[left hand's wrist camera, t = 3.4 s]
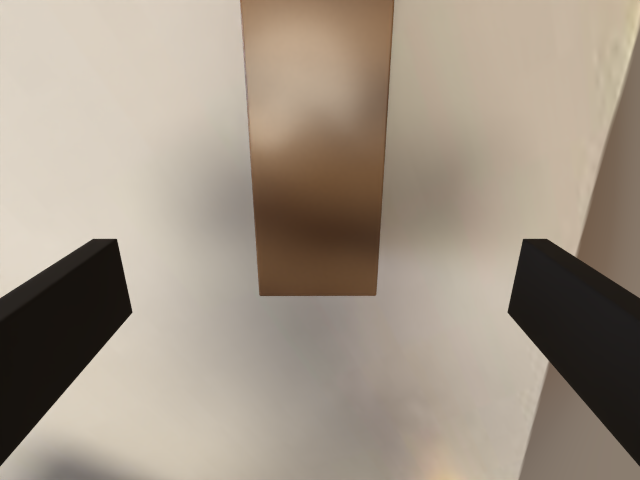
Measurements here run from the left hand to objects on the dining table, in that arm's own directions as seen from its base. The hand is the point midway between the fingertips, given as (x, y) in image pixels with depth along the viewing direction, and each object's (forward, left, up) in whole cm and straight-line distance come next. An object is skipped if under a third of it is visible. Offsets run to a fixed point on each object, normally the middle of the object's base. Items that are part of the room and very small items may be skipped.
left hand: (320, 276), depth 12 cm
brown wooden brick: (+6, 0, -14) cm, 15 cm away
